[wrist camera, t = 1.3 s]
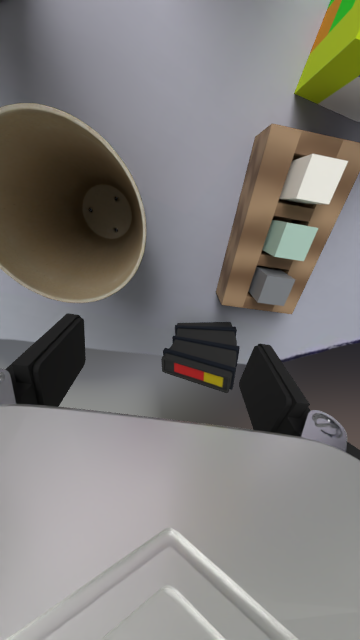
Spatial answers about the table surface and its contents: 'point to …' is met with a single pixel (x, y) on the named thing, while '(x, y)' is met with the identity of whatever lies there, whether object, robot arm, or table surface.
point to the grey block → (270, 286)
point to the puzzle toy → (335, 61)
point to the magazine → (203, 354)
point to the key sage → (289, 240)
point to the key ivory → (312, 179)
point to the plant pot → (65, 207)
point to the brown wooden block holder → (280, 212)
